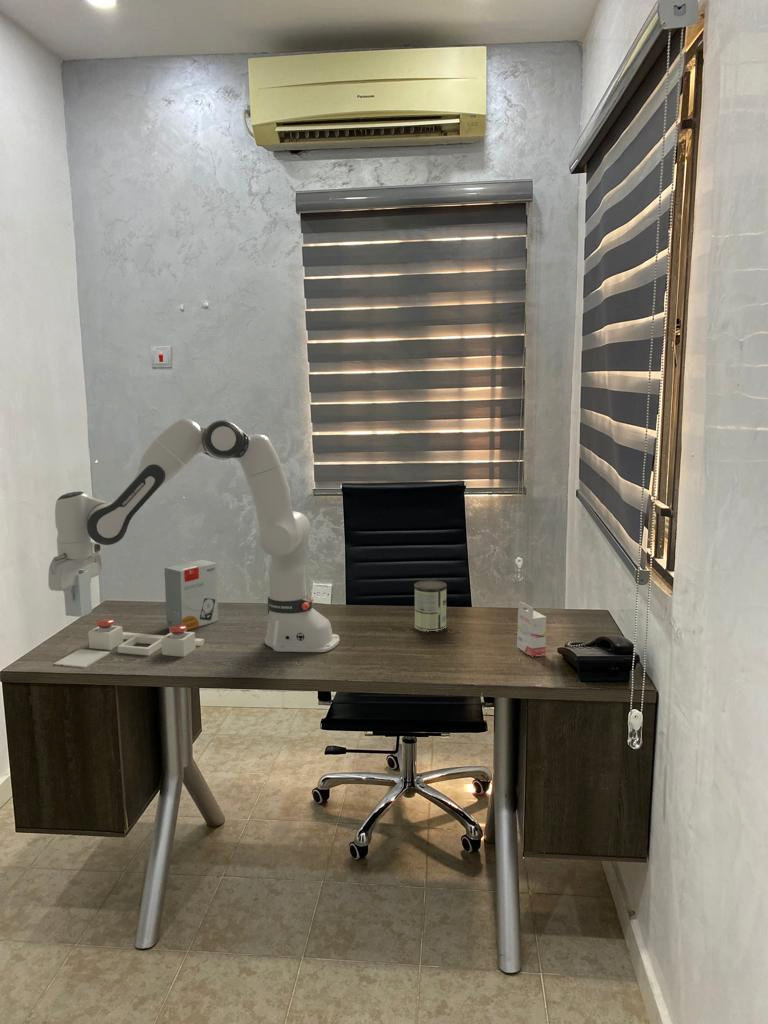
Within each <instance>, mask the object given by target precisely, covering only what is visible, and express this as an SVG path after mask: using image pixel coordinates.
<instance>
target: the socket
mask: <svg viewBox="0 0 768 1024" xmlns="http://www.w3.org/2000/svg"><path fill="white" fill-rule="evenodd" d="M164 636H165V635H163V634H162V635H161V634H149V633H137V632H127V631H126V632H125V631H123V640H126V641H123V643H121V644H120V645H118V646H117V654H126V655H127V654H129V655H139V656H151V655H152V654H154V653H155V652H156V651H158V650H160V649H162V640H161V638H163V637H164ZM136 644H145V645H146V644H147V645H149V646H147V647H145V646H135V645H136ZM204 644H205V639H204V638H199V637H198V638H196V637H195V645H196V647H202V646H203V645H204Z"/></svg>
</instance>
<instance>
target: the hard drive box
mask: <svg viewBox="0 0 768 1024" xmlns="http://www.w3.org/2000/svg"><path fill="white" fill-rule="evenodd" d="M217 570H218V565H217V562H216V561H215V562H214V561H210V560H205V559H197V560H195V561H189V562H185V563H181V564H175V565H173V566H167V567H164V590H165V612H166V613H165V615H166V628H167V629H169V627H170V626H172V625H177V624H183V625H186V626H187V630H186V631H190V630H191V631H192V630H193V629H195V628H200V627H202V626H205V625H210V624H212V623H215V622H219V613H218V612H219V609H218V607H219V605H218V603H219V602H218V571H217Z"/></svg>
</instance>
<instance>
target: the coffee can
mask: <svg viewBox="0 0 768 1024" xmlns="http://www.w3.org/2000/svg"><path fill="white" fill-rule="evenodd" d="M413 586H414V628H415V629H416V630H417V631H420V632H426V631H427V632H429V631H436V632H439V631H438V630H441V631H443V630H442V629H444V628H445V629H447V587H448V585H447V583H446V582H444V581H441V580H431V579H428V580H426V579H425V580H420V581H417V582H415V583H414V585H413ZM445 629H444V630H445ZM429 633H430V632H429Z"/></svg>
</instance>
